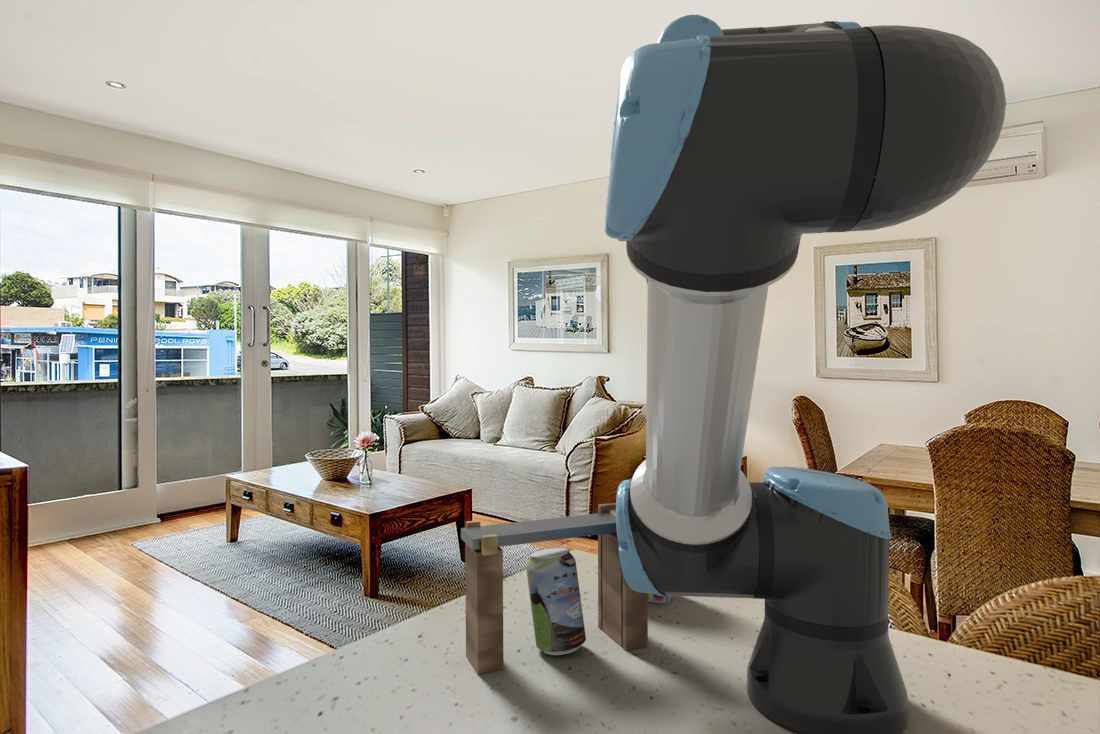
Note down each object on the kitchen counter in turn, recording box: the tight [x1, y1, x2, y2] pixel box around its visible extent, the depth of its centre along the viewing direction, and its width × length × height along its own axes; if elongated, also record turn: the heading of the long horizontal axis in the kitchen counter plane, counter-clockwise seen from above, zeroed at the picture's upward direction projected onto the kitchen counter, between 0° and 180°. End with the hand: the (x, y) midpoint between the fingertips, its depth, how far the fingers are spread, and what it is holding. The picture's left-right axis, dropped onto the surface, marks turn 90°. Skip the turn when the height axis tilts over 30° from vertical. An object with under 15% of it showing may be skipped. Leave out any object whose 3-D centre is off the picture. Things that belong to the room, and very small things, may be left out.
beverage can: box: [525, 546, 587, 656], centre depth 80 cm, size 6×7×12 cm
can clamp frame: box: [464, 502, 649, 676], centre depth 80 cm, size 21×7×16 cm, turn 112°
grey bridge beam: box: [460, 510, 617, 550], centre depth 79 cm, size 21×5×2 cm, turn 112°
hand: (680, 362), depth 85 cm, fingers closed
